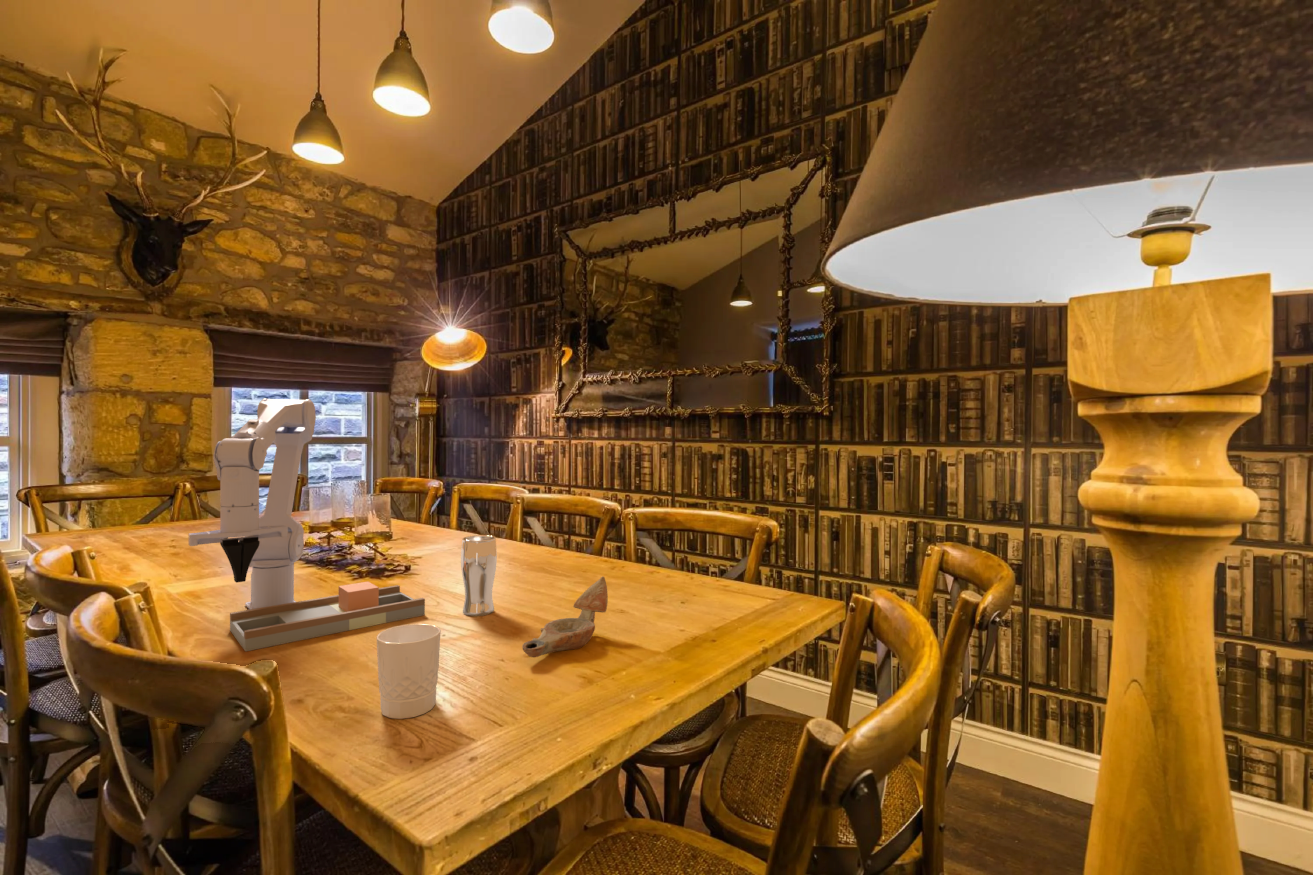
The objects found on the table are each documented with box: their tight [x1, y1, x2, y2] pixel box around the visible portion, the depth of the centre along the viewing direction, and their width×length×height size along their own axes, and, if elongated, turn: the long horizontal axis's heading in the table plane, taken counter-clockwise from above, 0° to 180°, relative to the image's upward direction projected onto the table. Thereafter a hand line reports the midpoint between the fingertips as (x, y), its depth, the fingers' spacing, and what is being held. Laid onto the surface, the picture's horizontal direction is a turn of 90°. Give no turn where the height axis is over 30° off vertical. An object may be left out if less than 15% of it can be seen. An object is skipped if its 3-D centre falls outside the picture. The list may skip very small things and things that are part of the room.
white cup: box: [376, 623, 442, 720], centre depth 81 cm, size 8×8×10 cm
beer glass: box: [460, 534, 498, 617], centre depth 124 cm, size 7×7×15 cm
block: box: [338, 581, 380, 612], centre depth 119 cm, size 6×6×4 cm
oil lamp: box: [521, 576, 609, 658], centre depth 105 cm, size 9×21×10 cm, turn 150°
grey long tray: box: [229, 584, 426, 652], centre depth 116 cm, size 14×30×3 cm, turn 133°
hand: (239, 580), depth 109 cm, fingers closed
